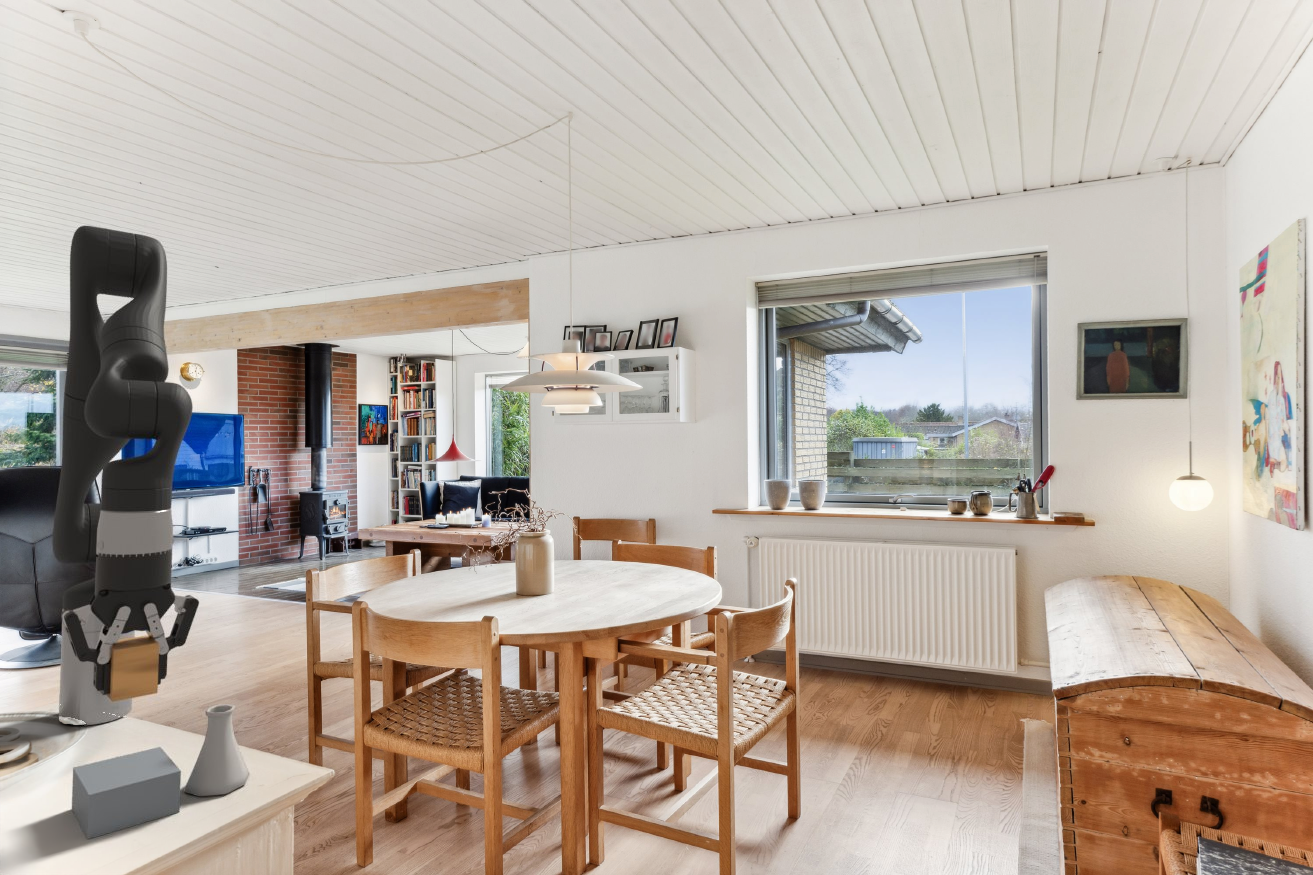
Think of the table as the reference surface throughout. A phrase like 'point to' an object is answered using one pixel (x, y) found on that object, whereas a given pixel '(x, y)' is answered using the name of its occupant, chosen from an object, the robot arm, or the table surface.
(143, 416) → the robot arm
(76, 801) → the pedestal
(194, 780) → the flask
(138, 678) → the orange block
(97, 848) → the table surface
